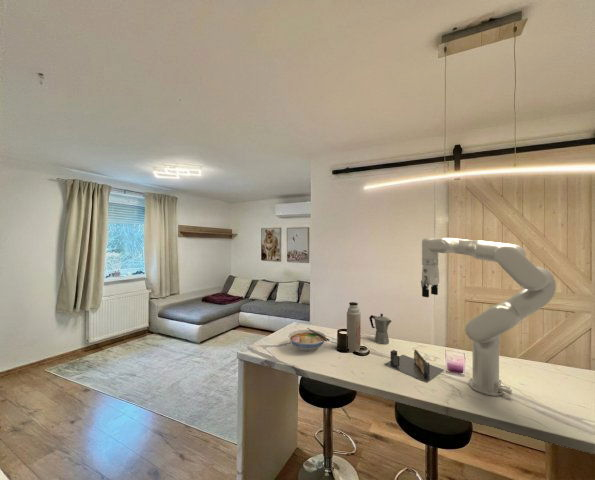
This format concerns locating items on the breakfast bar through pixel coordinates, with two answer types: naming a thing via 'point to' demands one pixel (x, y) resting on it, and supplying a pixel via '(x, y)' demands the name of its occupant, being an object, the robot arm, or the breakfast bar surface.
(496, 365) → the robot arm
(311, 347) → the ramen bowl
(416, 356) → the gate
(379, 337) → the coffeepot
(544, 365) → the breakfast bar surface
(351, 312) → the thermos bottle
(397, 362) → the gate frame
